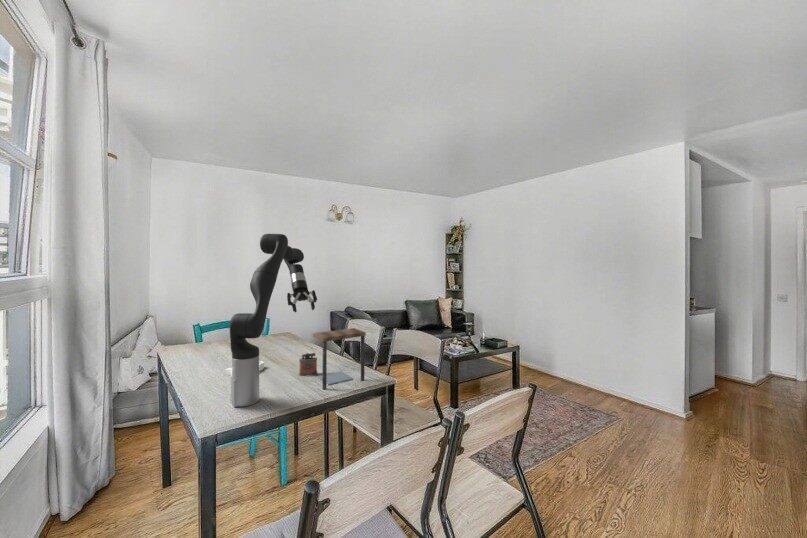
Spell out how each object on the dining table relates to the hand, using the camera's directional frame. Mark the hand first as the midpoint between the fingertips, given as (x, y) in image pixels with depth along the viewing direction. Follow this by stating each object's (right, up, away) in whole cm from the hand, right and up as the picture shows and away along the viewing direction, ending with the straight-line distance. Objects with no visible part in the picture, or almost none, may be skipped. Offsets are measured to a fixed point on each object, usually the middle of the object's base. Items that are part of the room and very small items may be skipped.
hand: (304, 310), depth 169 cm
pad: (+19, -29, -17) cm, 38 cm away
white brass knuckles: (-25, -29, -9) cm, 39 cm away
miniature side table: (+21, -29, -20) cm, 41 cm away
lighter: (+5, -29, -12) cm, 31 cm away
